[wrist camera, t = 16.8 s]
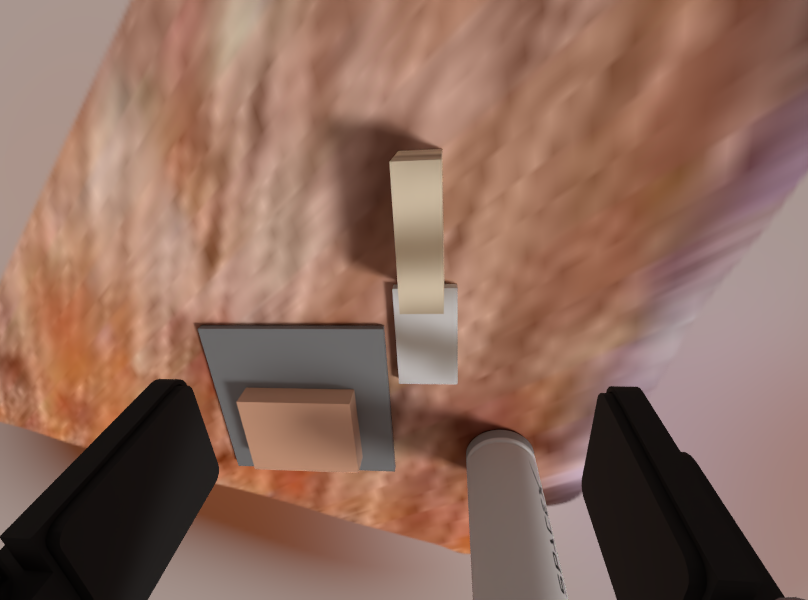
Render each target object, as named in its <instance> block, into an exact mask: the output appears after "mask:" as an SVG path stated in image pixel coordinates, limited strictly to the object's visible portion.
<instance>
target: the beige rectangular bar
mask: <svg viewBox="0 0 808 600" xmlns="http://www.w3.org/2000/svg"><path fill="white" fill-rule="evenodd" d="M389 163H390V178H391V193H392V208H393V223H394V238H395V253H396V268H397V282H398V285H393V288H392V292H393V306H394V320H395V333H396V347H397V361H398V374H399V384H458V363H457V284H444V229H443V163H442V149H429V150H407V151H398V152H397V153H396V154H395V156H394V157H393V158H392V159H391V160H390V162H389Z"/></svg>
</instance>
